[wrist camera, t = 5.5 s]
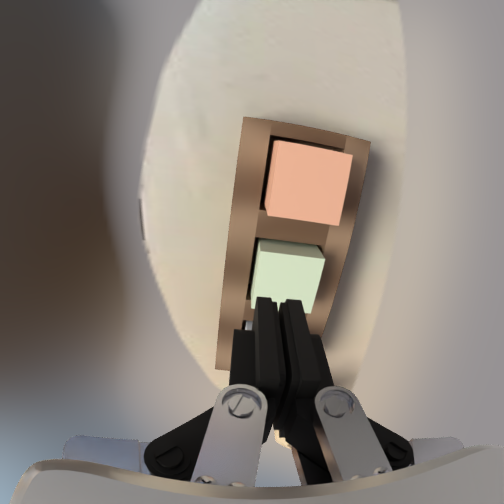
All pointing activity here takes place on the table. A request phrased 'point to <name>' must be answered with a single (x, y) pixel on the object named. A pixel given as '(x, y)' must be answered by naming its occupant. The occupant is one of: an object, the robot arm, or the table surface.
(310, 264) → the sage button
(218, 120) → the table surface
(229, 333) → the button panel
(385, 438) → the robot arm
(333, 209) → the terracotta button
